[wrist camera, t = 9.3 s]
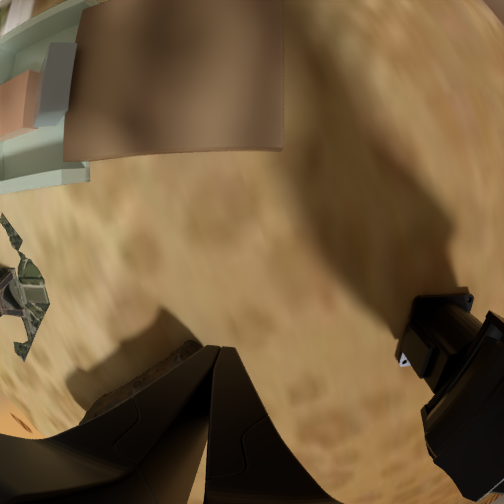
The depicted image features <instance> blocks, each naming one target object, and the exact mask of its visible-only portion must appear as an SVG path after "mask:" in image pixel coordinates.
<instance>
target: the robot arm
mask: <svg viewBox="0 0 504 504" xmlns="http://www.w3.org/2000/svg"><path fill="white" fill-rule="evenodd" d="M468 299H469V300H468ZM473 300H474V297H473V295H472V294H470V293H461V294H444V295H424V296H417V297H416V298H415V299H414V301H413V306H412V310H411V314H410V318H409V322H408V324H407V327H406V330H405V334H404V338H403V342H402V345H401V352H400V355H399V358H398V363H399V365H400V366H402V367H404V366H412V367H413V369H414V370H415V372H416V373H417V375H418V377H419V378H420V379H423V378H424V380H425V381H426V383H427V384H428V386H429V387H430V389H431V390H432V392H433V393H434V394H435V395H434V396H433V397H432V399H431V400H430V401H429V402H428V403H427V404H425V405H424V407H423V408H422V409H421V416H422V421H423V427H424V433H425V441H426V446H427V450H428V453H429V455H430V456H431V457H432V458H433V462H434V463H435V464H436V465H437V466H439V467H440V468H441V469H443V470H444V471H445V472H446V473H447V474H448V475H449V476H450V477H451V479H452V480H453V481H454V483H455V484H456V486H457V487H458V489H459V491H460V492H461V494H462V496H463V497H465V498H467V499H469V500H472V501H474V502H478V501H479V500H481V499H482V498H483V497H484V496H486V495H487V494H488V493H496V494H504V318H502V317H500V316H499V315H497V314H495V313H493V312H492V311H490V310H489V311H488V313H487V315H486V319H485V321H484V323H481V322H480V321H479V320H478V319H477V318H475V317H474V316H473V315H472V314H471V313H470V311H471V307H472V304H473ZM420 301H421V303H420V304H418V303H419V302H420ZM403 360H405V361H403ZM207 439H208V441H207ZM206 442H207V458H206V477H205V480H206V482H205V494H204V502H203V504H344V503H342V502H339V501H337V500H336V499H334V498H333V497H331V496H330V495H329V494H327V493H326V492H325V491H324V490H323V489H322V488H321V487H320V486H319V485H318V483H317V482H316V481H315V480H314V479H313V478H312V476H311V475H310V474H309V473H308V472H307V470H306V469H305V468H304V467H303V466H302V464H301V463H300V462H299V461H298V460H297V458H296V457H295V456H294V455H293V453H292V452H291V451H290V449H289V448H288V447H287V445H286V444H285V442H284V441H283V440H282V438H281V436H280V435H279V433H278V431H277V430H276V428H275V426H274V424H273V423H272V421H271V419H270V417H269V416H268V413H267V411H266V409H265V407H264V405H263V403H262V401H261V399H260V397H259V395H258V393H257V391H256V389H255V387H254V385H253V383H252V381H251V379H250V377H249V375H248V373H247V371H246V369H245V367H244V365H243V363H242V361H241V358H240V356H239V354H238V352H237V350H236V348H235V347H225V346H223V347H220V346H214V345H206V346H205V347H203V348H202V349H201V350H199V351H198V352H196V353H195V354H193V355H192V356H191V357H189V358H188V359H186V360H185V361H183V362H182V363H181V364H179V365H178V366H176V367H175V368H173V369H172V370H170V371H169V372H167V373H166V374H165V375H163V376H162V377H160V378H159V379H157V380H156V381H154V382H153V383H151V384H150V385H148V386H147V387H145V388H144V389H142V390H141V391H139V392H138V393H136V394H134V395H133V398H132V397H130V398H128V399H127V400H125V401H123V402H122V403H120V404H119V405H117V406H115V407H114V408H112V409H110V410H108V411H107V412H105V413H103V414H101V415H99V416H97V417H95V418H93V419H91V420H89V421H87V422H84V423H82V424H80V425H78V426H76V427H73V428H71V429H69V430H67V431H64V432H62V433H60V434H57V435H55V436H52V437H49V438H45V439H25V438H20V437H14V436H9V435H5V434H0V504H187V501H188V498H189V495H190V492H191V489H192V486H193V483H194V480H195V477H196V474H197V470H198V467H199V464H200V461H201V458H202V455H203V451H204V448H205V445H206Z"/></svg>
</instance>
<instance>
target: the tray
mask: <svg viewBox="0 0 504 504" xmlns="http://www.w3.org/2000/svg"><path fill="white" fill-rule="evenodd" d="M97 4H100V3H99V2H98V1H97V0H67V1H65V2H62V3H60V4H58V5H56V6H54V7H52V8H50V9H48V10H46V11H44V12H42V13H40V14H39V15H37V16H35V17H33V18H31V19H30V20H28V21H26V22H24V23H23V24H21V25H19V26H18V27H16V28H15V29H13V30H11V31H10V32H8V33H7V34H5V35H4V36H2V37H1V38H0V85H2V84H4V83H5V82H7V81H9V80H11V79H12V78H14V77H16V76H18V75H20V74H22V73H24V72H26V71H28V70H32V71H35V72H38V73H39V72H40V68H41V65H42V63H43V60H44V57H45V55H46V52H47V50H48V47H49V45H50V43H51V42H58V43H75V40H76V35H77V31H78V27H79V23H80V19H81V15H82V11H83V9H86V8H89V7H91V6H94V5H97ZM64 119H65V115H64V116H63V117H62V118H61V120H60V121H59V122H58V124H57V125H56V126H47V127H38V129H37V130H34V131H31V132H28V133H25V134H22V135H20V136H17V137H14V138H11V139H9V140H6V141H0V194H5V193H11V192H16V191H22V190H28V189H35V188H42V187H49V186H56V185H64V184H72V183H80V182H89V181H90V178H89V161H85V162H63V137H64Z"/></svg>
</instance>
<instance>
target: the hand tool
mask: <svg viewBox="0 0 504 504" xmlns="http://www.w3.org/2000/svg"><path fill="white" fill-rule="evenodd" d="M201 349H202V347H201V346H200V345H199V344H197V343H196V342H195V341H192V340H188V341H186V342H185V344H184V346H180V348H179V349H178V350H177V351H175V352H173V353H171V354H170V357H169V358H168V359H166V360H165V361H163V362H161V363H160V364H158V365H155V366H153V367H152V368H150V369H148V370H147V371H146V372H144V373H143V375H141V376H139V377H136V378H135V379H134V380H132V381H131V382H129V383H128V384H126V385H124V386H123V387H121V388H119V389H118V390H116V391H114V392H113V393H111V394H109V395H106V394H105V395H104V396H102V397H101V398H100V399H99V400H97V401H96V402H95V403H94V405H92V408H90V410H89V411H87V412H86V414H85V416H84V418H83V419H82V421H81V422H80V423H79V425H80V424H82V423H84V422H87V421H89V420H91V419H93V418H95V417H97V416H99V415H101V414H103V413H105V412H107V411H108V410H110V409H112V408H114V407H115V406H117V405H119V404H120V403H122V402H123V401H125V400H127V399H128V398H130V397H132V398H133V395H134V394H136V393H138V392H139V391H141V390H142V389H144V388H145V387H147V386H148V385H150V384H151V383H153V382H154V381H156V380H157V379H159V378H160V377H162V376H163V375H165V374H166V373H167V372H169V371H170V370H172V369H173V368H175V367H176V366H178V365H179V364H181V363H182V362H183V361H185V360H186V359H188V358H189V357H191V356H192V355H193V354H195V353H196V352H198V351H199V350H201Z"/></svg>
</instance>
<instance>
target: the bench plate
mask: <svg viewBox="0 0 504 504" xmlns="http://www.w3.org/2000/svg"><path fill="white" fill-rule="evenodd" d="M75 43H77V48H76V53H75V59H74V65H73V72H72V79H71V86H70V95H69V105H68V111H67V112H66V113H65V119H64V137H63V162H85V161H96V160H104V159H112V158H121V157H131V156H141V155H153V154H167V153H184V152H208V151H278V152H281V151H282V149H283V148H284V40H283V5H282V0H109V1H106V2H103V3H100V4H97V5H94V6H91V7H89V8H86V9H83V11H82V15H81V19H80V23H79V27H78V31H77V35H76V40H75Z"/></svg>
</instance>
